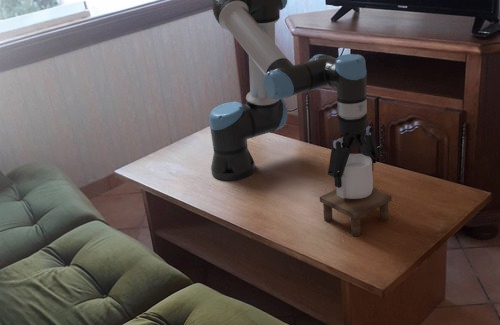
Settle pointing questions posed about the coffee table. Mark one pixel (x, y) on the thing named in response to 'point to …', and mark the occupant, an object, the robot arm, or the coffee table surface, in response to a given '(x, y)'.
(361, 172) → the cup
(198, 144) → the coffee table surface
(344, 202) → the footstool
